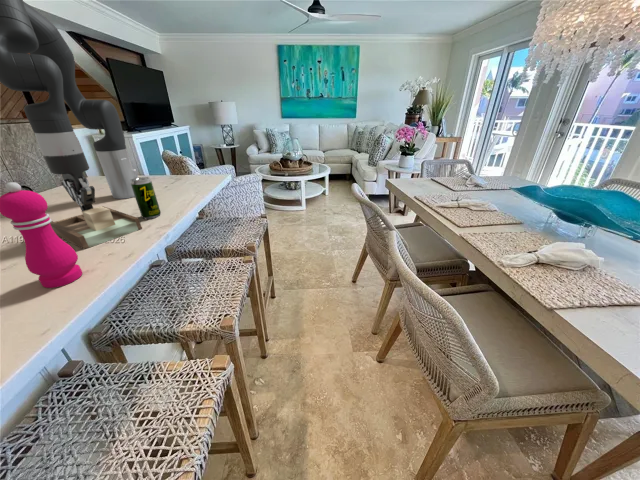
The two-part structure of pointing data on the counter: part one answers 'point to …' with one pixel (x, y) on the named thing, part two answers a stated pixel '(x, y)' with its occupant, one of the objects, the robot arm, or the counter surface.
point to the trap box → (88, 237)
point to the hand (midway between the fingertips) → (90, 217)
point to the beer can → (145, 197)
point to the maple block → (98, 218)
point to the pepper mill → (40, 237)
